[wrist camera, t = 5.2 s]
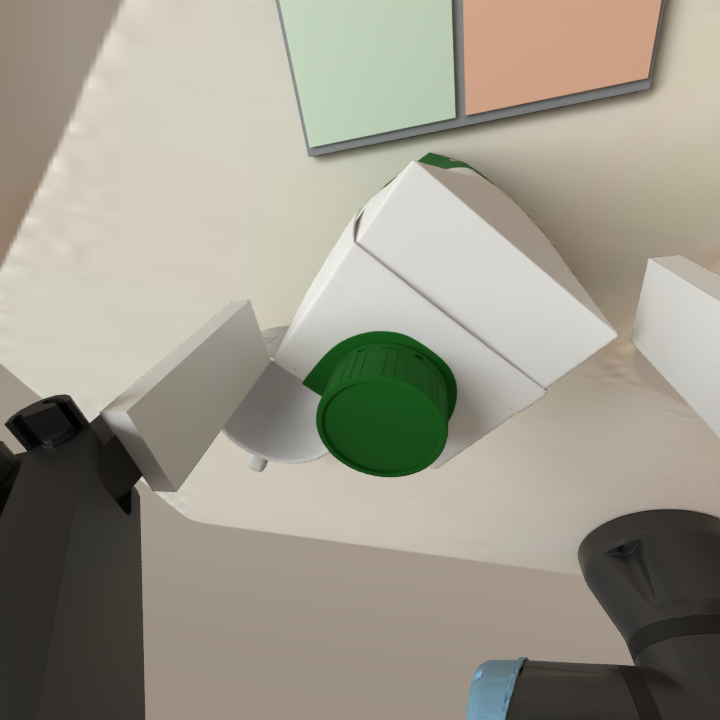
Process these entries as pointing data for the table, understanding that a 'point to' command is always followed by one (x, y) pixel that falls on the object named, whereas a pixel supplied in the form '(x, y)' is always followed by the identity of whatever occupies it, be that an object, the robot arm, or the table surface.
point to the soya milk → (435, 321)
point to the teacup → (277, 415)
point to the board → (456, 61)
